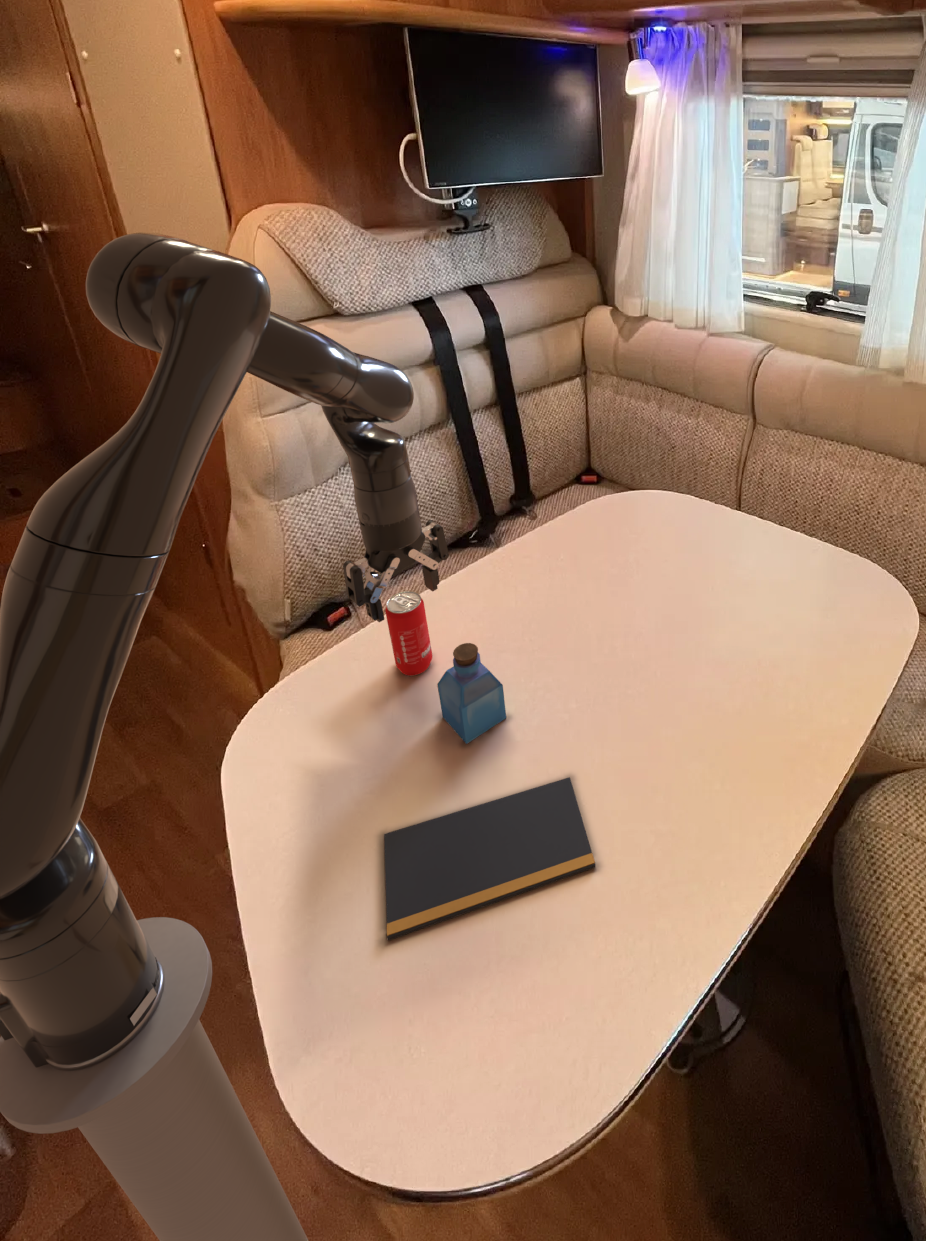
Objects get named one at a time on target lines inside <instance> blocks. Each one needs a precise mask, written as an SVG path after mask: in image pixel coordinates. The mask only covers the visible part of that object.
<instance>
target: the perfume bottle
mask: <svg viewBox="0 0 926 1241" xmlns="http://www.w3.org/2000/svg"><path fill="white" fill-rule="evenodd" d="M452 656H453V659H452V663H453V665H452V667H450V668H448V669H446V671H445V672H444V673H443V675H442V676H441V678H440V679H439V680H438V682H437V684H436V685H437V691H438V697H439V703H440V709H441V715H442V719H443V720H444V721H445V722H446V723H447V724H448V726H450V727H451V729H452V730H453V731H454V732H455V734H457V736H459V738H460V739H461V740H462V742H464V743H465V744H466V745H467V744H469V743H471V742H472V741H474V740H476V739H477V738H478V737H480V736H481V735H483V734H484V733H487V731H489V730H490V729H492V728H494V727H495V726H497V725H498V724H500V723H501V722H503V721H504V720H506V719H507V712H506V711H507V710H506V702H505V693H504V692H505V691H504V685H503V683H501V681H500V680H499V679H498V678H497V677H496V675H494V674H493V672H492V671H490V670H489V669H488V667H486V666H485V665H484V664H483V663H482V661H481V654H480V652H479V648H478V646H477V645H476V644H475V643H471V642H465V643H462V644H458V646H456V647H455V648H454V649H453V651H452Z"/></svg>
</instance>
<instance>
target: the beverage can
mask: <svg viewBox="0 0 926 1241" xmlns="http://www.w3.org/2000/svg"><path fill="white" fill-rule="evenodd" d="M425 607H426V606H425V602H424V599H423V598H422V597H421V595H420V593H418V592H416V591H412V590H411V591H410V590H407V591H401V592H398V593H395V594H393V595H392V596H390V597H389V599H388V600H387V601H386V604H385V610H384V611H385V617H386V622H387V627H388V632H389V633H388V634H389V638H390V642H391V647H392V653H393V658H394V662H395V666H396V668H397V669H398V670H399V671H400V673H401V674H403V675H405V676H407V677H414V676H419V675H421V674H423V673H425V672H426V671H427V670H428V669H429V668H430V666H431V662H432V660H433V651H432V644H431V639H430V638H431V637H430V631H429V626H428V621H427V614H426V608H425Z"/></svg>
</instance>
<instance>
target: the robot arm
mask: <svg viewBox="0 0 926 1241" xmlns="http://www.w3.org/2000/svg"><path fill="white" fill-rule="evenodd" d="M89 264H90V265H89V267H88V269H87V273H86V279H85V296H86V298H87V302H88V305H89V307H90V309H91V311H92V313H93V314H94V316H95V318H97V320H98V321H99V322H100V323H101V325H102V326H104V327H105V328H106V329H107V330H109V331H110V332H111V333H113V334H114V335H116V336H117V337H118V338H121V339H123V340H124V341H126V342H128V343H130V344H133V345H135V346H138V347H140V348H143V349H147V350H149V351H152V352H155V353H157V354H160V356H159V360H158V362H157V365H156V367H155V370H154V373H153V375H152V378H151V379H150V381H149V384H148V386H147V388H146V390H145V392H144V395H143V396H142V398H141V401H140V403H139V404H138V406H137V407H136V410H135V411H134V413H133V414H132V415H131V416H130V418H129V419H128V420H127V422H126V423H125V424H124V425H123V426H122V427H121V428H119V430H118V431H117V432H116V433H114V434H113V435H112V436H111V437H110V438H108V440H106V441H105V442H104V443H102V444H101V445H100V446H98V447H97V448H96V449H94V451H92V452H91V453H89V454H88V455H86V456H85V457H84V458H83V459H81V460H80V461H79V462H78V463H76V464H75V465H74V466H72V467H71V468H70V469H69V470H68V471H67V472H64V474H63V475H62V476H60V477H59V478H58V479H57V480H55V481H54V483H53V484H52V485H51V486H50V487H48V489H46V491H44V493H42V495H41V497H40V498H38V500H37V502H36V504H35V505H34V507H33V508H32V509H33V510H32V511H31V513H30V515H29V518H28V520H27V522H26V526H25V527H24V530H23V533H22V535H21V538H20V540H19V543H18V546H17V548H16V551H15V553H14V555H13V559H12V560H11V563H10V566H9V568H8V571H7V574H6V577H5V582H4V585H3V590H2V594H1V600H0V1037H1V1036H2V1038H3V1039H4V1040H8V1039H11V1038H15V1040H16V1041H17V1043H18V1044H19V1045H20V1047H21V1048H22V1049H23V1051H24V1052H25V1054H26V1055H27V1056H28V1058H29V1059H30V1061H31V1062H32V1063H33V1065H34V1066H35V1067H36V1068H37V1067H40V1066H43V1065H47V1064H49V1065H51V1066H52V1067H53V1068H56V1069H58V1070H62V1071H76V1070H81V1069H85V1068H88V1067H91V1066H94V1065H96V1064H98V1063H100V1062H102V1061H104V1060H106V1059H108V1058H109V1057H111V1056H112V1055H114V1054H116V1053H117V1052H118V1051H120V1050H121V1049H122V1048H123V1047H125V1046H126V1045H127V1044H128V1043H129V1042H130V1041H132V1040H133V1039H134V1038H135V1037H136V1036H137V1035H138V1034H139V1032H140V1031H141V1030H142V1029H143V1028H144V1027H145V1025H146V1024H147V1023H148V1021H149V1020H150V1018H151V1017H152V1015H153V1014H154V1012H155V1010H156V1009H157V1007H158V1005H159V1002H160V1000H161V997H162V994H163V990H164V985H165V976H164V971H163V969H162V966H161V964H160V963H159V961H158V960H157V958H156V957H155V956H154V954H153V952H152V950H151V948H150V946H149V944H148V942H147V940H146V938H145V936H144V934H143V932H142V930H141V928H140V926H139V924H138V922H137V920H138V919H137V918H136V916H135V914H134V912H133V910H132V907H131V906H130V904H129V903H128V900H127V899H126V896H125V895H124V893H123V890H122V888H121V886H120V885H119V883H118V881H117V879H116V877H115V875H114V873H113V871H112V869H111V867H110V865H109V864H108V861H107V860H106V858H105V855H104V854H103V852H102V850H101V847H100V846H99V844H98V841H97V839H96V838H95V837H94V836H93V834H92V833H91V831H90V830H89V829H88V827H87V826H86V824H85V823H84V821H83V820H82V818H81V816H82V812H83V809H84V805H85V802H86V799H87V794H88V790H89V787H90V783H91V778H92V775H93V771H94V766H95V763H96V758H97V755H98V750H99V746H100V742H101V739H102V735H103V731H104V728H105V723H106V719H107V717H108V714H109V710H110V707H111V704H112V701H113V698H114V696H115V693H116V690H117V688H118V685H119V683H120V680H121V678H122V675H123V673H124V670H125V667H126V665H127V662H128V659H129V656H130V654H131V650H132V648H133V645H134V642H135V639H136V637H137V634H138V631H139V628H140V626H141V623H142V620H143V618H144V615H145V613H146V612H147V608H148V606H149V604H150V601H151V599H152V597H153V594H154V593H155V590H156V587H157V585H158V583H159V581H160V577H161V575H162V572H163V569H164V566H165V564H166V561H167V559H168V557H169V553H170V551H171V549H172V545H173V543H174V539H175V536H176V532H177V530H178V527H179V524H180V521H181V519H182V515H183V512H184V510H185V507H186V505H187V503H188V500H189V497H190V495H191V492H192V490H193V488H194V485H195V482H196V480H197V477H198V475H199V472H200V470H201V468H202V466H203V464H204V461H205V458H206V456H207V454H208V451H209V449H210V447H211V444H212V442H213V439H214V438H215V435H216V433H217V431H218V429H219V427H220V426H221V423H222V421H223V420H224V417H225V415H226V413H227V411H228V410H229V407H230V406H231V404H232V402H233V400H234V398H235V396H236V394H237V392H238V390H239V388H240V386H241V384H242V383H243V380H244V378H245V377H246V375H247V373H248V374H250V375H252V376H254V377H256V378H258V379H260V380H262V381H264V382H267V383H269V384H271V385H273V386H274V387H277V388H279V389H281V390H283V391H285V392H288V393H290V394H292V395H294V396H297V397H298V398H300V399H304V400H306V401H308V402H311V403H313V404H315V405H319V406H320V407H321V409H322V412H323V414H324V416H325V419H326V421H327V422H328V425H329V426H330V428H331V429H332V431H333V433H334V434H335V436H336V438H337V440H338V442H339V444H340V446H341V447H342V449H343V450H344V452H345V454H346V456H347V459H348V464H349V469H350V472H351V477H352V482H353V483H352V484H353V496H354V497H353V499H354V503H355V508H356V513H357V518H358V522H359V528H360V532H361V537H362V542H363V546H364V548H365V552H364V556H363V558H360V559H358V560H355V561H354V562H353V561H352V560H345V562H344V563H343V565H342V569H343V570H342V571H343V576H344V582H345V588H346V597H347V598H348V599H349V600H350V601H352V602H353V603H355V605H356V606H358V607H362V606H364V605H365V606H364V607H365V611H366V614H367V616H368V617H369V618H371V619H372V621H374V622H375V621H377V622H378V623H381V622H383V621H385V615H384V609H383V605H382V600H381V599H380V597H381V594H382V592H383V590H384V588H387V587H388V585H389V583H390V581H391V579H392V577H393V578H395V577H396V576H398V575H399V574H401V573H402V572H403V571H406V570H409V569H411V568H412V567H414V564H415V563H416V562H418V563H419V564H422V565H421V571H422V576H423V582H424V586H425V588H426V589H428V590H429V591H431V592H434V591H437V590H438V586H439V585H440V575H439V574H440V573H439V569H438V568H439V565H440V563H441V562H442V561H447V559H448V558H449V555H450V553H449V549H448V545H447V540H446V535H445V531H444V527H443V526H442V525H441V524H439V523H437V522H435V521H434V520H432V519H429V520H427V521H426V523H425V526H424V527H422V521H421V515H420V509H419V502H418V494H417V490H416V486H415V483H414V480H413V477H412V473H411V466H410V459H409V453H408V449H407V444H406V441H405V439H404V437H403V436H402V435H401V434H399V433H398V432H395V431H392V430H390V429H388V428H384V427H382V426H379V425H377V424H393V423H396V422H398V421H401V420H402V419H403V418H405V417H406V416H407V415H408V414H409V412H410V410H411V409H412V407H413V404H414V398H415V393H414V387H413V384H412V382H411V380H410V378H409V377H408V375H407V374H406V372H404V371H403V370H402V369H401V368H400V367H398V366H397V365H395V364H392V363H390V362H387V361H385V360H381V359H378V358H375V357H372V356H368V355H365V354H360V353H357V352H354V351H352V350H351V349H349V348H347V347H346V346H345V345H343V344H341V343H340V342H338V341H336V340H335V339H333V338H331V337H330V336H328V335H326V334H324V333H322V332H320V331H318V330H315V329H314V328H311V327H309V326H307V325H304V324H302V323H300V322H297V321H295V320H293V319H290V318H288V317H285V316H284V315H281V314H279V313H276V312H273V311H271V305H272V295H271V288H270V285H269V281H268V280H267V277H266V276H265V274H264V273H263V272H262V270H260V268H258V267H257V266H256V265H255V264H252V263H251V262H249V261H248V260H247V261H246V260H245V259H242V258H239V257H236V256H233V255H230V254H228V253H224V252H222V251H219V250H216V249H212V248H210V247H206V246H203V245H200V244H197V243H195V242H191V241H189V240H185V239H183V238H180V237H176V236H172V235H167V234H163V233H157V232H135V233H134V232H133V233H130V234H129V233H127V234H124V235H121V236H119V237H115V238H114V239H113V240H111V241H109V242H108V243H106V244H105V245H104V246H103V247H102V248H101V249H100V250H99V251H98V252H97V253H96V254H95V256H94V258H93V259H92V260H91V262H90V263H89ZM426 539H428V541H429V545H430V551H431V552H430V553H429V554H426V553H424V552H422V551H421V550H422V548H423V546H424V544H425V541H426ZM368 567H369V568H368ZM367 568H368V570H367ZM366 570H367V572H366ZM378 573H380V574H381V575H380V576H379V575H378ZM363 578H365V581H364V579H363Z"/></svg>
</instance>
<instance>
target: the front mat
mask: <svg viewBox="0 0 926 1241" xmlns="http://www.w3.org/2000/svg"><path fill="white" fill-rule="evenodd" d="M584 824H585V823H584V821H583V817H582V813H581V810H580V807H579V803H578V800H577V797H576V792H575V789H574V787H573V783H572V779H571V777H570V776H569V777H565V778H563V779H559V780H555V781H553V782H549V783H546V784H543V785H540V786H536V787H533V788H530V789H526V790H523V791H520V792H517V793H513V794H510V795H507V796H503V797H501V798H497V799H494V800H490V801H488V802H485V803H480V804H478V805H474V806H471V807H468V808H464V809H461V810H458V811H455V812H452V813H451V812H450V813H448V814H444V815H441V816H438V817H434V818H431V819H428V820H426V821H422V822H419V823H415V824H413V825H409V826H406V827H402V828H399V829H396V830H393V831H389V832H386V833H384V834H383V842H384V843H383V844H384V848H383V849H384V875H385V876H384V878H385V909H386V910H385V911H386V914H385V915H386V938H387V941H392V940H393V939H396V938H399V937H402V936H404V935H407V934H410V933H411V934H412V933H413V932H416V931H419V930H422V929H425V928H428V927H430V926H433V925H436V924H439V923H442V922H445V921H448V920H450V919H453V918H456V917H459V916H462V915H465V914H467V913H470V912H473V911H476V910H479V909H481V908H484V907H487V906H489V905H492V904H495V903H499V902H501V901H504V900H506V899H510V898H512V897H516V896H519V895H521V894H525V893H527V892H530V891H532V890H536V889H538V888H541V887H544V886H546V885H549V884H552V883H555V882H558V881H560V880H563V879H566V878H569V877H571V876H575V875H578V874H581V873H583V872H586V871H588V870H591V869H594V868H596V861H595V858H594V854H593V852H592V847H591V845H590V844H591V843H590V841H589V837H588V834H587V831H586V828H585V825H584Z"/></svg>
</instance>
